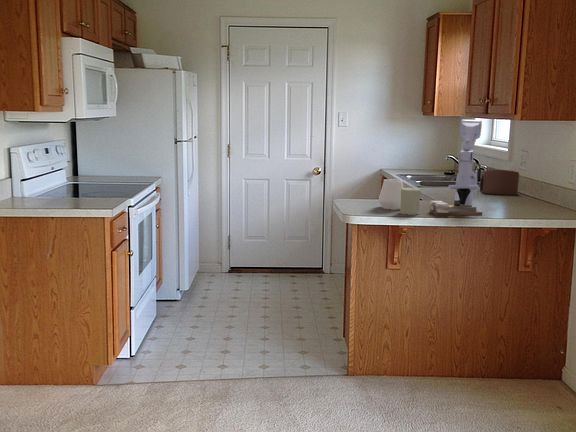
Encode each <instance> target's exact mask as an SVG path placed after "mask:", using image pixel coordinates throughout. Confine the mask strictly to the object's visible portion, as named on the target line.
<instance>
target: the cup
mask: <svg viewBox="0 0 576 432" xmlns="http://www.w3.org/2000/svg"><path fill="white" fill-rule="evenodd" d="M401 188H404V184H403V180H402V179H397V178H386V179H385V178H384V179H383V183H382V186H381V189H380V193H379V196H378V202H379V204H380V206H381V208H382V209H385V210H389V209H391V210H393V211H394V210H395V211H396V210H397V209H398V210H400V203H401ZM391 210H390V211H391Z"/></svg>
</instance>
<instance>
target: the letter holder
mask: <svg viewBox="0 0 576 432" xmlns="http://www.w3.org/2000/svg"><path fill="white" fill-rule="evenodd" d="M519 180H520V173H519V172H518V171H516V170H509V169H508V170H505V169H489V170H485V171H483V175H482V177H481V178H480V183H479V192H480V193H481V194H486V195H487V194H488V195H490V194H491V195H493V194H494V195H512V196H515V195H517V196H518V194H519V193H518V192H519Z"/></svg>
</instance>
